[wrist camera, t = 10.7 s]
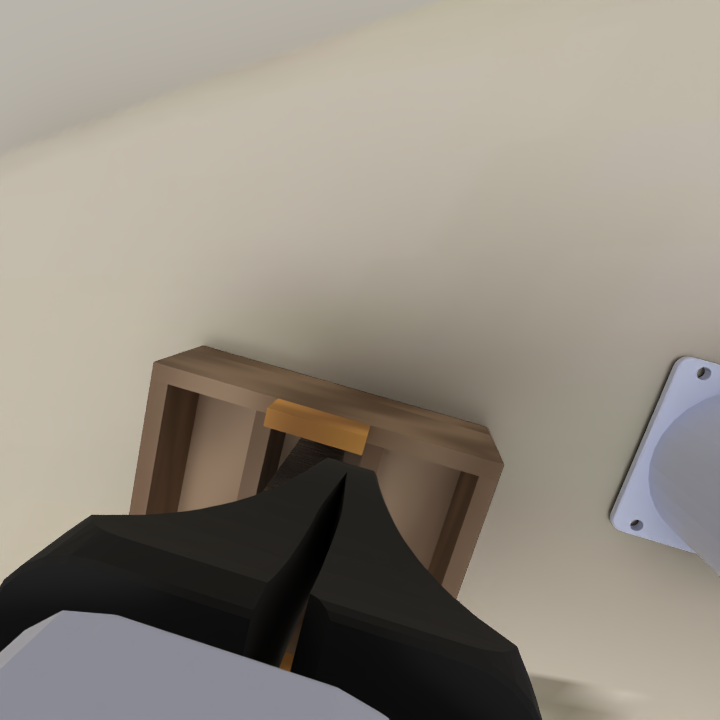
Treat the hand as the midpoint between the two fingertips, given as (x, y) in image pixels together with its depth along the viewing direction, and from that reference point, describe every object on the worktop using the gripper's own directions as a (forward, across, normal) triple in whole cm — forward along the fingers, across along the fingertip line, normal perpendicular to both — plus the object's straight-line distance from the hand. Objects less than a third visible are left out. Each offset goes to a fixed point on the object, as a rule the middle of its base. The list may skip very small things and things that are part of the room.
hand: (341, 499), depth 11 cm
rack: (+9, +2, +6) cm, 11 cm away
